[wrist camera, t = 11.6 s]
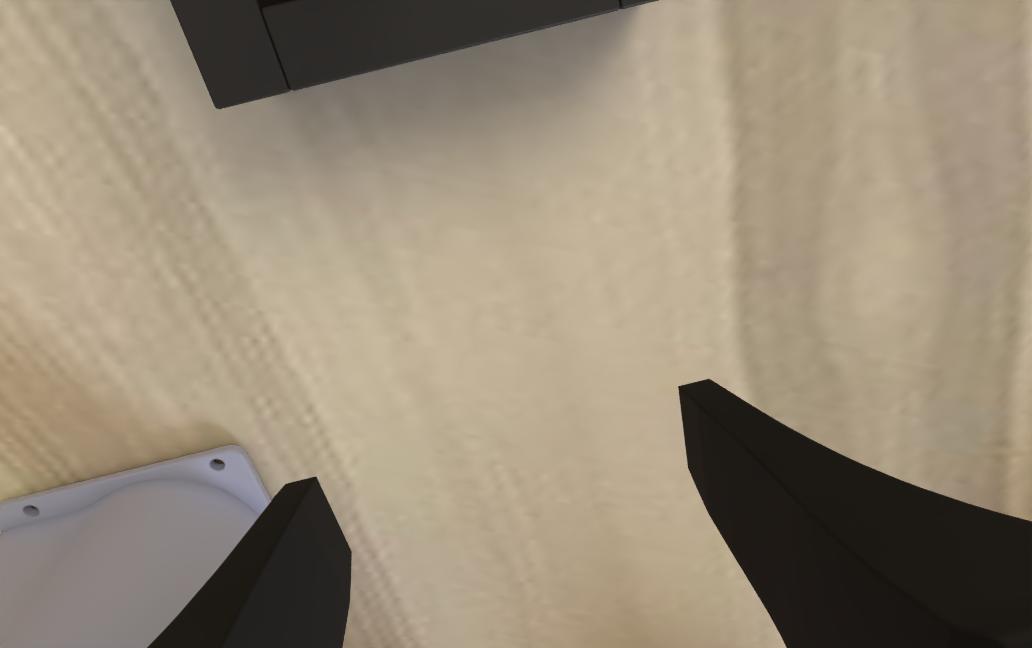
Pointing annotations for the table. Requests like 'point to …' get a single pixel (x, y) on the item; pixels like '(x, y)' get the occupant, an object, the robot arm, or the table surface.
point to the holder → (348, 36)
